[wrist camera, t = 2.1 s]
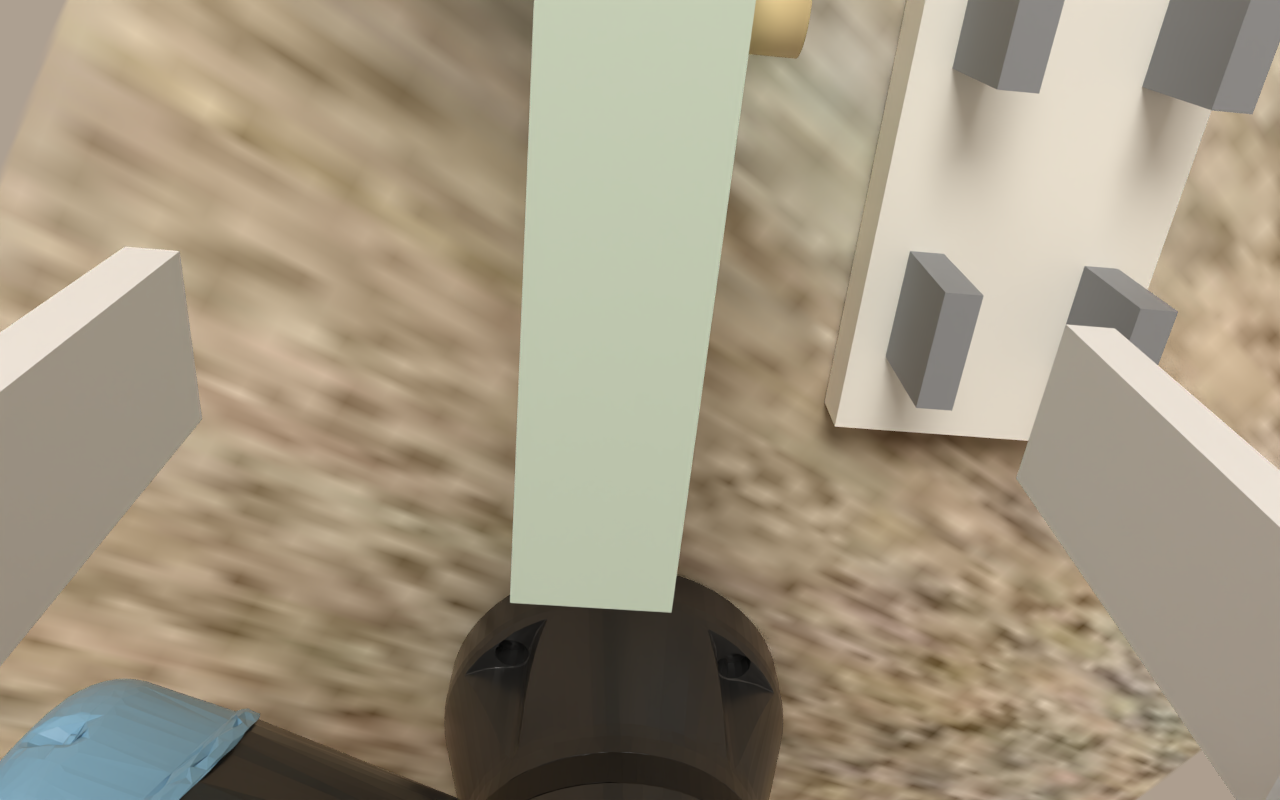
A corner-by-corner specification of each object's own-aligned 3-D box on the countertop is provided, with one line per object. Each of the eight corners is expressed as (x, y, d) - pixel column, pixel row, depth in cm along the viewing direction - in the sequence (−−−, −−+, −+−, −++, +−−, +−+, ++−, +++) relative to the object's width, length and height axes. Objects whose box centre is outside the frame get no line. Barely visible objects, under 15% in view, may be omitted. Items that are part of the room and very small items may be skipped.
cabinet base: (1070, 420, 38) (1143, 503, 33) (824, 402, 38) (858, 483, 32) (1264, -154, 29) (1410, -168, 24) (945, -190, 29) (1021, -213, 23)
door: (688, 319, 36) (739, 617, 21) (556, 309, 36) (509, 603, 20) (741, -98, 30) (869, -107, 14) (580, -115, 29) (539, -142, 14)
